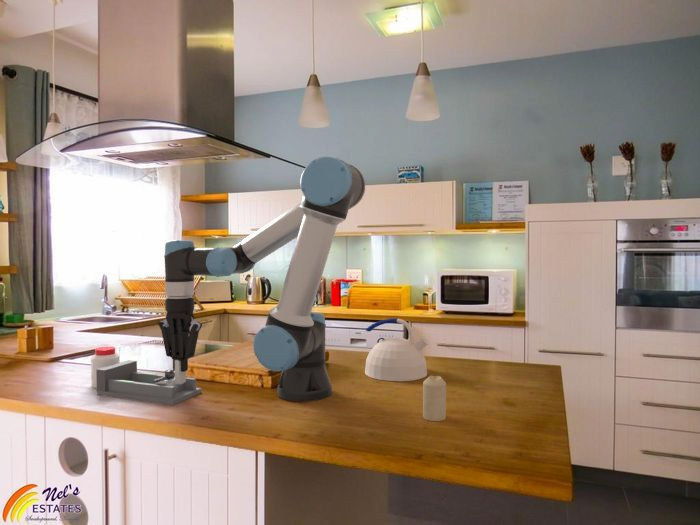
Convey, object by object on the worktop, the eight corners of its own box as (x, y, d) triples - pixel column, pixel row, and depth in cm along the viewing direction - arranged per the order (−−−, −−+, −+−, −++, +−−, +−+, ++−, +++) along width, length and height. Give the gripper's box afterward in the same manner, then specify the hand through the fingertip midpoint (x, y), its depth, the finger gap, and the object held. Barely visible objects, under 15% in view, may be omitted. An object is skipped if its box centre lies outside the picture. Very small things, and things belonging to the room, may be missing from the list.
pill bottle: (108, 389, 149) (108, 351, 149) (85, 387, 151) (84, 350, 150) (125, 382, 157) (125, 346, 156) (103, 380, 158) (102, 345, 158)
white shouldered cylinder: (430, 422, 120) (431, 380, 120) (418, 415, 125) (418, 375, 125) (450, 419, 123) (450, 378, 122) (437, 412, 128) (437, 372, 127)
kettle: (421, 384, 154) (422, 324, 153) (356, 378, 160) (356, 321, 160) (433, 368, 173) (433, 315, 172) (374, 364, 180) (374, 312, 179)
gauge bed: (201, 392, 145) (201, 367, 145) (172, 405, 134) (172, 377, 134) (129, 383, 154) (128, 360, 154) (96, 394, 143) (96, 369, 143)
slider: (189, 386, 146) (188, 366, 146) (160, 398, 136) (160, 376, 135) (177, 385, 148) (177, 365, 148) (148, 396, 137) (148, 375, 137)
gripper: (208, 296, 141) (208, 381, 142) (169, 294, 145) (170, 377, 146) (190, 299, 134) (191, 389, 135) (150, 297, 138) (151, 383, 139)
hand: (180, 382), depth 140 cm, fingers closed
